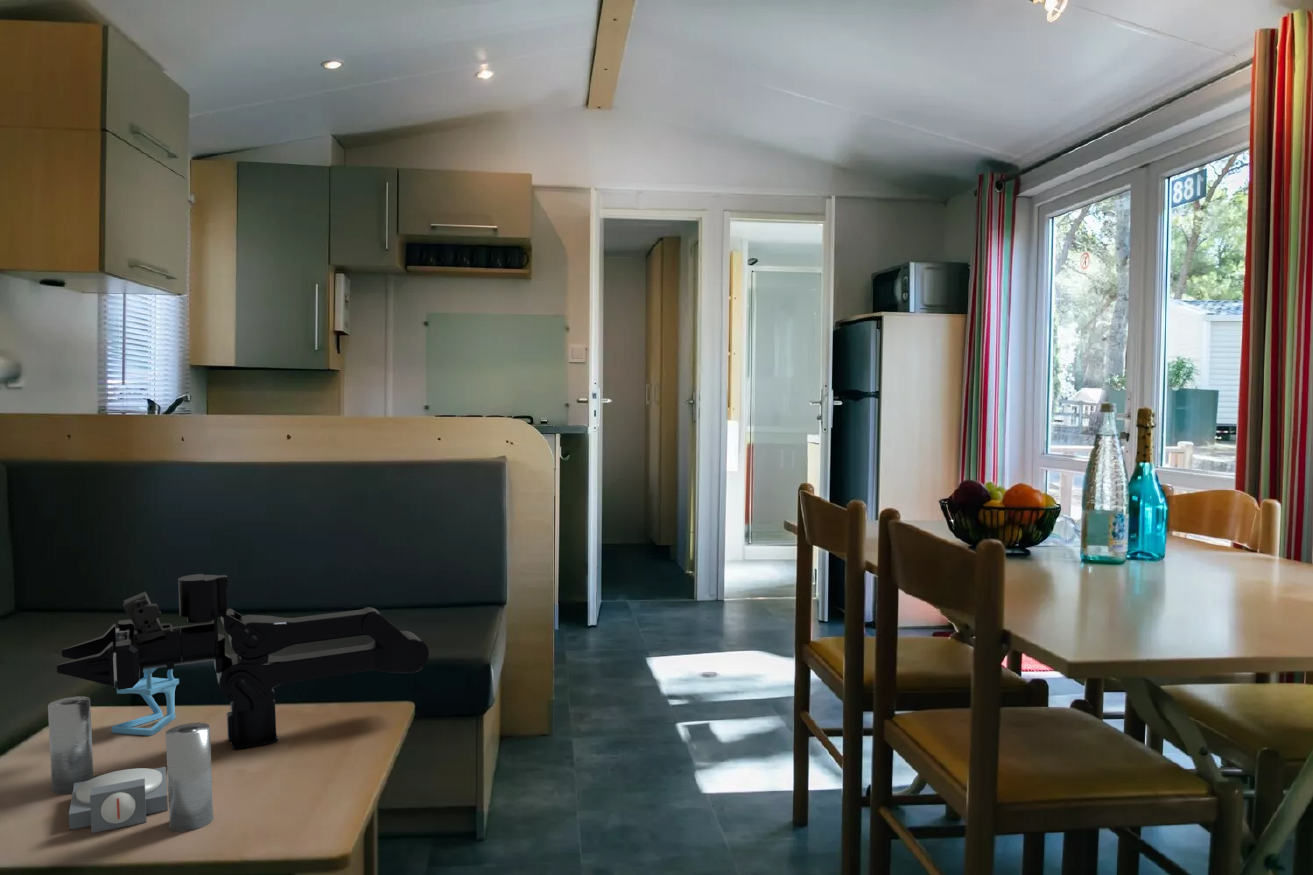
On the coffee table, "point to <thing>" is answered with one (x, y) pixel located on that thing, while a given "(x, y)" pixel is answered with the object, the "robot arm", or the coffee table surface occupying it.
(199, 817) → the silver metal cylinder
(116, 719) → the coffee table surface
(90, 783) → the scale
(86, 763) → the cylinder
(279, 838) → the coffee table surface
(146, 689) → the chair
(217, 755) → the coffee table surface
